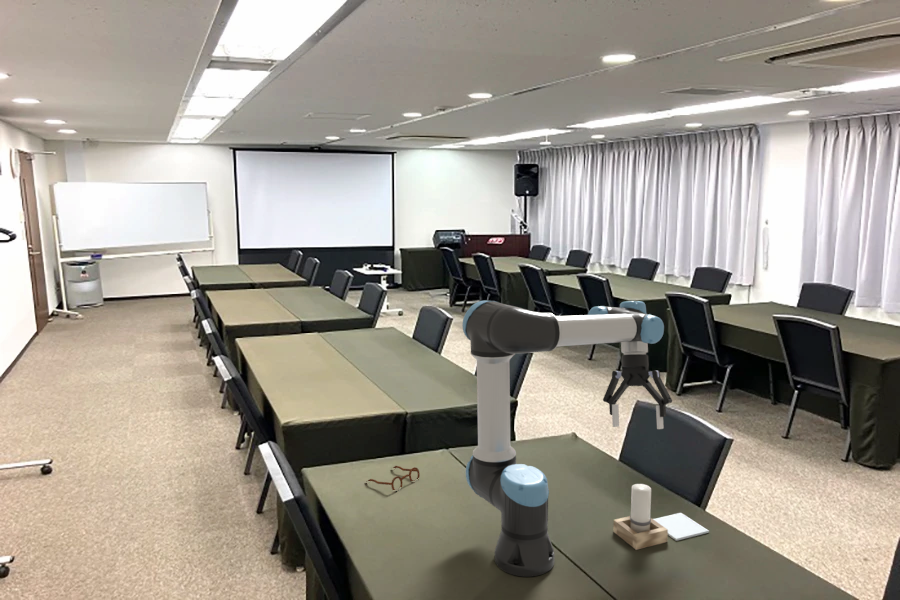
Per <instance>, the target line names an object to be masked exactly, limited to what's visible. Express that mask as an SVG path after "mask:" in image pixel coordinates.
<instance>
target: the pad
mask: <svg viewBox="0 0 900 600" xmlns="http://www.w3.org/2000/svg"><path fill="white" fill-rule="evenodd" d="M652 519H653V520H655V521H656V522H658V523H659V524H660V525H662V526H663V527H665V528H666V529H668V537H670V538H671V539H673V540H674V541H677V542H678V541H681V540H684V539H690V538H694V537H696V536H697V537H698V536H701V535H704V534H708V533H709V532H710V530H708V529H707V528H705V527H704V526H702V525H701V524H699V523H698V522H696V521H694V520H693V519H692V518H690V517H688V516H687V515H686V514H684V513H682V512H677V513H673V514H670V515H664V516H661V517H657V518H652Z"/></svg>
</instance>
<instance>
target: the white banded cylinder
mask: <svg viewBox="0 0 900 600" xmlns="http://www.w3.org/2000/svg"><path fill="white" fill-rule="evenodd" d="M630 501H631V503H630V515H629V516H630V521H631V527H630V528H631V529H632V530H634V531H635V532H636V533H641V532H646V531H650V523H651V518H652V517H651V510H652V509H651V507H652V505H651V504H652V503H651V502H652V488H651V487H650V486H649V485H648V484H644V483H635V484H632V485H631V499H630Z"/></svg>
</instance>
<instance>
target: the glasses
mask: <svg viewBox="0 0 900 600" xmlns="http://www.w3.org/2000/svg"><path fill="white" fill-rule="evenodd" d="M392 468H395V469H399V470H402V471H403V472H408V474H405V475H402V477H401V476H395V477H393V478H392V479H391V482H385V481H379V480H376V479H373V478H370V479H368V480H367V481H370V482H374V483H376V484H378V485H388V486H391V489H392V491H393V490H396V489H395V487H394V486H395V485H394V483H395V481H396V479H398V480H399V481H400V482H399V483H400V486H399V488H400V487H402V488H403V480H404V479H406V478H407V477H409V481H410V482H411V481H414V480H413V478H412V472H416V473H417V477H416V479H418V478H419V479H420V470H419V468H418V467H415V466H414V467H412V468H404V467H401V466H400V465H399V466H398V465H394V466H393V467H392ZM419 479H418V480H419Z"/></svg>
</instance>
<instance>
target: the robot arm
mask: <svg viewBox="0 0 900 600" xmlns="http://www.w3.org/2000/svg"><path fill="white" fill-rule="evenodd" d="M462 330H463V331H462V332H463V335H464V336H465V337H466V339H468V340H469V343H470V355H471V356H472V357H473V358H474V360H476V390H477V391H476V395H477V396H476V399H477V401H476V402H477V403H476V405H477V406H476V407H477V446H476V447H475V448H474V449H473V450H472V455H471V456H470V457H469V461H467V463H466V466H465V479H466V480H465V481H466V482H467V485H468V486H469V488H470V489H472V491H473V492H474V493H475V494H476V495H477V496H479V497H480V498H482V499H483V500H484V501H486V502H487V503H489V504H491V506H493V507H494V508H496V509H497V510H498V511H499V512H500V513H501V518H500V519H501V521H500V523H501V524H500V525H501V531H500V534H499V537H498V540H497V543H496V545H495V548H494V562H495V564H496V566H497V567H498V568H499V569H500V570H502V571H503V572H505V573H507V574H509V575H512V576H517V577H526V578H528V577H529V578H530V577H538V576H540V575H544V574H546V573H548V572H549V571H550V570H552V569H553V568H554V565H555V551H554V550H555V549H554V547H553V544H552V541H551V538H550V535H549V532H548V531H549V530H548V527H549V525H548V524H549V494H550V493H549V492H550V490H549V485H548V478H547V476H546V475H545V473H544V472H543V471H542V470H541V469H539V468H537V467H535V466H532V465H527V464H523V463H517V452H516V449H515V448H514V447H512V446H511V393H510V392H511V389H510V388H511V387H510V386H511V385H510V384H511V382H510V381H511V380H510V368H511V367H510V361H511V359H512V358H513V357H514V356H515V355H516V354H517V355H518V354H531V353H532V354H533V353H543V352H551V351H554V350H555V349H556V348H557V347H566V346H583V345H584V346H585V345H597V344H598V345H600V344H615V343H620V345H621V347H620V350H621V351H620V352H621V354H622V355H621V368H622V369H621V371H619V370H613V371H612V373H611V379H610V381H609V384H608V386H607V388H606V391H605V394H604V395H603V398H602V401H603V402H604V403H607V404H608V405H609V415H610V416H611V417H612V427H613V428H618V427H620V413H619V412H620V409H619V408H620V407H619V404H617V403H618V401H619V400H620V399H621V396H622V395H623V394H624V393H625V392H626V390H627V389H628V388H629V387H643V388H644V389H646V391H647V392H648V394H650V396H651V397H652V398H653V399H654V401H656V403H657V405H655V411H656V412H655V413H656V414H655V415H656V429H657V430H663V429H664V428H665V427H664V417H665V418H666V417H667V407H666V406H667V405H668V404H672V402H673V399H672V397H671V395H670V393H669V391H668V390H667V387H666V386H665V384H664V382H663V380H662V377H661V373H660V370H655V369H654V370H652V371H651V370H650V369H649V365H650V364H649V355H648V354H647V353H649V347H648V344H651V345H652V344H656V343H658V342H660V340H661V339H662V337H663V335H664V334H665V333H664V331H665V325H664V322H663V320H662V319H661V317H658V316H656V315H652V314H651V313H649V314H648V313H647V306H646V304H645V302H644V301H639V300H637V301H636V300H626V301H622V302H621V303H620V304H619V307H614V306H605V305H600V306H599V305H598V306H593V307H591V309H590V310H589V311H588V312H587V314H584V315H583V314H579V315H577V314H576V315H555V314H553V313H552V312H540V311H534V310H533V311H532V310H529V309H526V308H522V307H520V306H519V307H518V306H514V305H510V304H505V303H501V302H499V301H497V300H496V301H495V300H480V301H477V302H475V303H473V304H472V305H471V306H470V307H469V309H467V311H466V312H465V314H464V316H463V319H462ZM650 377H651V379H653V382H654V384H655V385H656V387H657V389H658V391H657V390H656V388H655V387H654V386H653V385H652V383H651V381H649V378H650ZM621 378H623V380H622V381H621V383H620V385H619V386H618V384H619V381H620V379H621ZM617 386H618V388H617ZM616 388H617V389H616Z"/></svg>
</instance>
